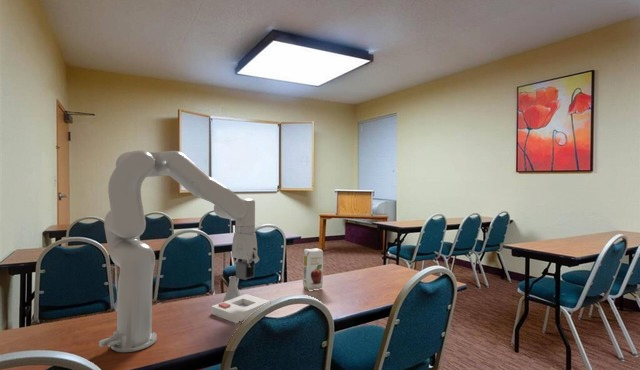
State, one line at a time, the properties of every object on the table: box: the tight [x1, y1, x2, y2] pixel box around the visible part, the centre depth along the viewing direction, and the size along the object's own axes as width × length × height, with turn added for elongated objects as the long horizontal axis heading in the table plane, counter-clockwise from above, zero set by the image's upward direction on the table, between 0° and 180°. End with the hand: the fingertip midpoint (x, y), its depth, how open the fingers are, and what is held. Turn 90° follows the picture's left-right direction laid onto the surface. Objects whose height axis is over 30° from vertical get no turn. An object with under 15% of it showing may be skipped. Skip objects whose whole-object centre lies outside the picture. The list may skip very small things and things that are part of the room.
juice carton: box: [302, 247, 324, 291], centre depth 163 cm, size 8×9×19 cm
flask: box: [222, 275, 241, 302], centre depth 145 cm, size 7×7×10 cm
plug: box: [235, 260, 255, 281], centre depth 134 cm, size 5×5×8 cm
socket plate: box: [210, 293, 271, 324], centre depth 133 cm, size 18×14×4 cm
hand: (245, 275), depth 134 cm, fingers closed on plug, 5 cm apart
